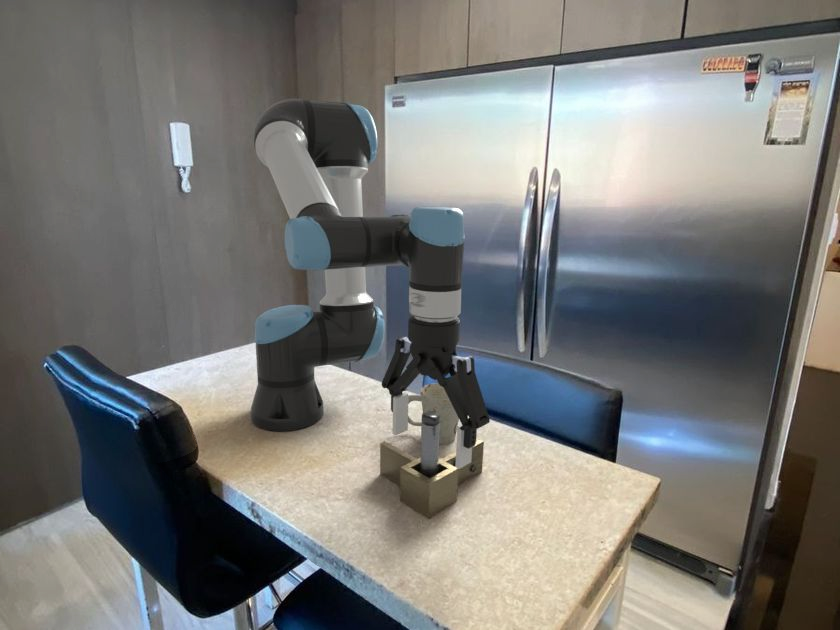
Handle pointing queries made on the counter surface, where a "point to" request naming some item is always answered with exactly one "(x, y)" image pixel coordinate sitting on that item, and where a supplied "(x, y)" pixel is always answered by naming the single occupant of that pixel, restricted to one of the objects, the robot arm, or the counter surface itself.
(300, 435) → the counter surface
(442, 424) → the mug
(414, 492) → the hinge
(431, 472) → the pin
